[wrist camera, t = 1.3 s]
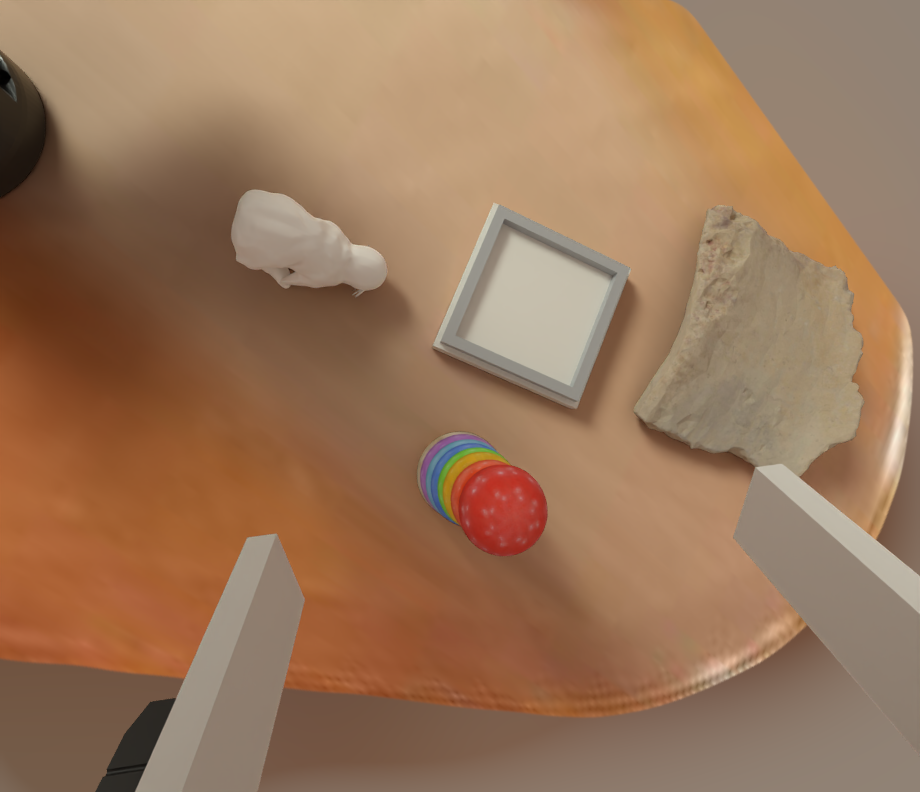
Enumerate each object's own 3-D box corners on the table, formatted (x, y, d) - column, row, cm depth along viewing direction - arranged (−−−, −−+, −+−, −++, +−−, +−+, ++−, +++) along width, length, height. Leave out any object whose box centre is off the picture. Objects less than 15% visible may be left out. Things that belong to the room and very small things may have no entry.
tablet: (838, 287, 48) (699, 202, 44) (922, 270, 41) (765, 166, 37) (763, 487, 47) (613, 417, 43) (836, 506, 39) (663, 424, 35)
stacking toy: (459, 532, 40) (508, 633, 22) (398, 474, 40) (394, 527, 21) (515, 471, 41) (608, 517, 23) (457, 413, 41) (502, 412, 22)
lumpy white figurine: (236, 162, 30) (399, 216, 33) (263, 214, 39) (392, 254, 41) (213, 246, 30) (380, 293, 33) (245, 280, 38) (377, 316, 41)
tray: (431, 347, 41) (433, 343, 38) (490, 210, 42) (496, 197, 39) (570, 408, 42) (581, 408, 40) (623, 273, 43) (636, 265, 41)
